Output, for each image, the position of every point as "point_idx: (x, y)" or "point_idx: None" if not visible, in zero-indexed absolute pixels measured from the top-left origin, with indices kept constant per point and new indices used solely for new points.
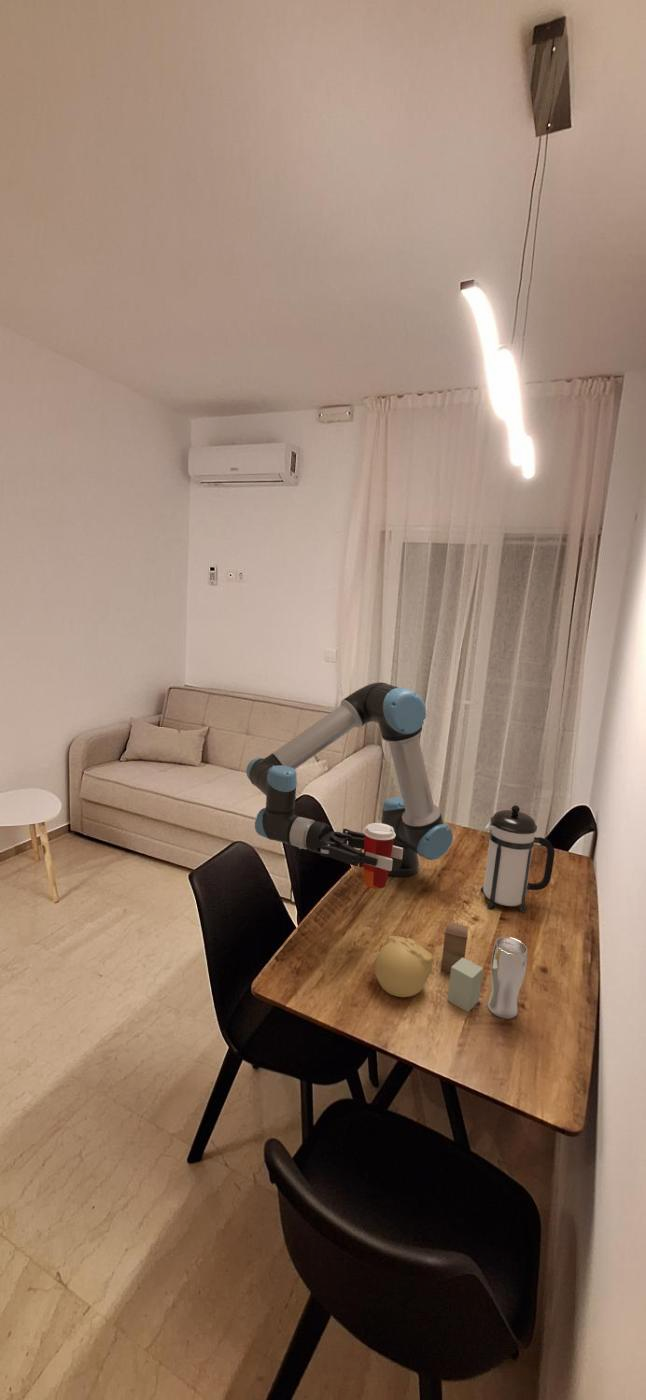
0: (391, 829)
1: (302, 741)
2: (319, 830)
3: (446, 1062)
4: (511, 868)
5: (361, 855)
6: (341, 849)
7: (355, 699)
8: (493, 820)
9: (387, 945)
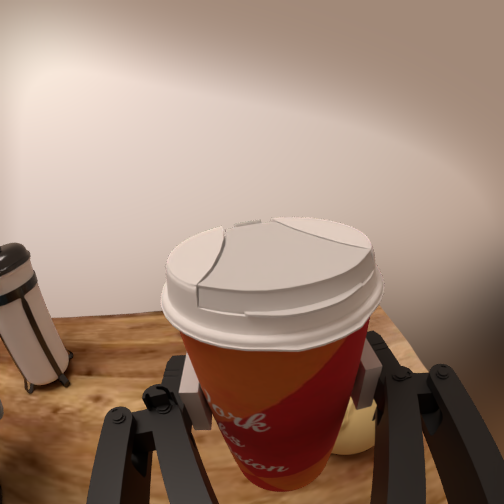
0: (233, 228)
1: None
2: None
3: (400, 345)
4: (45, 315)
5: (409, 373)
6: (474, 459)
7: None
8: None
9: (368, 410)
